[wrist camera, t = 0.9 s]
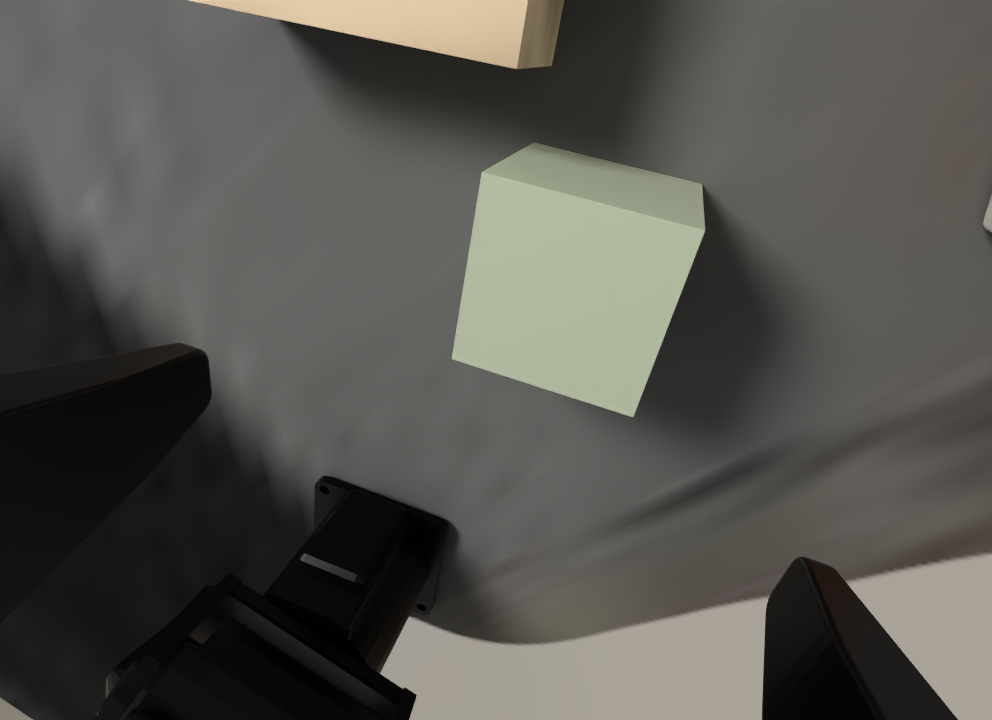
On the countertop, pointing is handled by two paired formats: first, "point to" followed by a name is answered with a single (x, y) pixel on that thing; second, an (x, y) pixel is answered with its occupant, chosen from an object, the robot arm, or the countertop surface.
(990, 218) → the skincare box
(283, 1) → the maple block
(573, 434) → the countertop surface
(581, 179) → the sage cube
